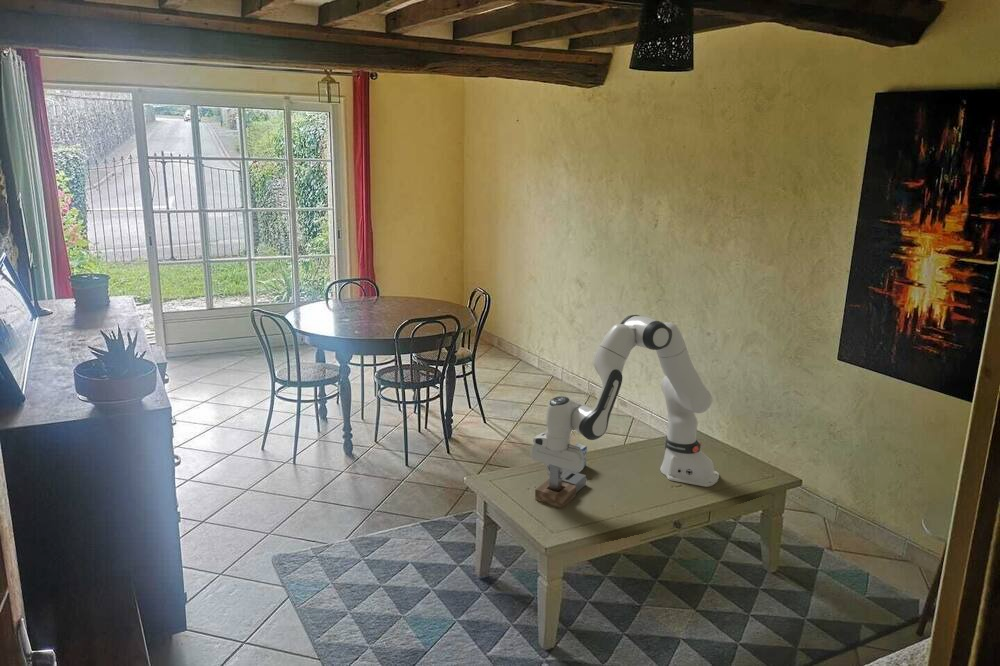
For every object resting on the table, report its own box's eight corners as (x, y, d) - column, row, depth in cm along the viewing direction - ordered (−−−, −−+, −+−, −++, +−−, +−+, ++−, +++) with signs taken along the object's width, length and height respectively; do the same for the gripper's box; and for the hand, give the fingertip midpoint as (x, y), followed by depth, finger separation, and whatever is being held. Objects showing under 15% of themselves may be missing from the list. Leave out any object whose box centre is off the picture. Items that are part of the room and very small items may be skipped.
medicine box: (577, 472, 281) (578, 452, 279) (567, 470, 284) (568, 449, 282) (586, 465, 288) (587, 445, 286) (576, 462, 290) (577, 443, 288)
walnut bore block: (575, 495, 263) (576, 485, 262) (561, 507, 254) (562, 497, 253) (549, 487, 269) (550, 478, 268) (535, 499, 260) (535, 489, 259)
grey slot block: (585, 484, 272) (586, 475, 270) (574, 494, 264) (575, 484, 263) (564, 478, 276) (565, 469, 275) (553, 487, 269) (553, 477, 268)
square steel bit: (561, 487, 261) (563, 462, 258) (557, 491, 258) (558, 465, 255) (553, 485, 263) (554, 460, 260) (549, 488, 260) (550, 463, 257)
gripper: (587, 445, 253) (585, 480, 256) (537, 432, 263) (536, 466, 267) (579, 451, 248) (577, 487, 251) (529, 437, 258) (528, 472, 262)
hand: (556, 476), depth 259 cm, fingers closed on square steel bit, 3 cm apart
